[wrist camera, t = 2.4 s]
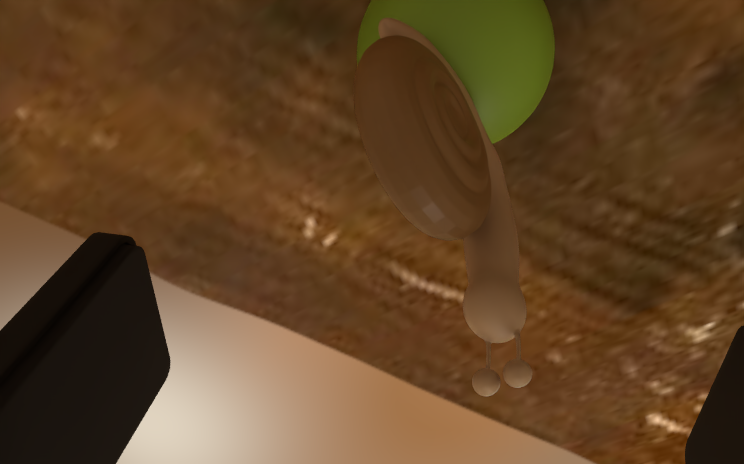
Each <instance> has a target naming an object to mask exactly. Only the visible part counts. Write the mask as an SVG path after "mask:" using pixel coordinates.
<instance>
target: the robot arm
mask: <svg viewBox="0 0 744 464" xmlns="http://www.w3.org/2000/svg"><path fill="white" fill-rule="evenodd" d="M169 369H170V356H169V352H168V348H167V344H166V339H165V336H164V331H163V327H162V323H161V319H160V314H159V310H158V306H157V302H156V298H155V294H154V289H153V285H152V281H151V277H150V273H149V269H148V264H147V260H146V256H145V253H144V250H143V249H142V247H140V246H136V243H135V241H134V240H133V238H132V237H129V236H124V235H116V234H109V233H101V232H97V233H94V234H92V235H91V236H90V237H89V238H88V239H87V240H86V241H85V242H84V243H83V244H82V245H81V246H80V247H79V248H78V249H77V250H76V251H75V252H74V253H73V254H72V256H71V257H70V258H69V259H68V260H67V261H66V262H65V263H64V264H63V265H62V266H61V267H60V268H59V269H58V271H57V272H55V274H54V275H53V276H52V277H51V278H50V279H49V280H48V281H47V282H46V283H45V284H44V285H43V286H42V287H41V288H40V289H39V291H37V293H36V294H35V295H34V296H33V297H32V298H31V299H30V300H29V301H28V302H27V303H26V304H25V305H24V307H22V308H21V309H20V311H19V312H18V313H17V314H16V315H15V316H14V317H13V318H12V319H11V320H10V321H9V322H8V323H7V324H6V325H5V326H4V327H3V328H2V329H1V331H0V464H116V463H117V461H118V459H119V457H120V456H121V454H122V453H123V450H124V449H125V448H126V446H127V444H128V443H129V441H130V439H131V437H132V436H133V434H134V432H135V431H136V429H137V427H138V426H139V424H140V422H141V421H142V419H143V417H144V416H145V414H146V412H147V411H148V409H149V407H150V406H151V404H152V402H153V401H154V399H155V397H156V396H157V394H158V392H159V391H160V389H161V387H162V385H163V384H164V382H165V380H166V378H167V376H168V373H169ZM685 462H686V464H744V326H741V327H740V328H739V329H738V331H737V333H736V335H735V337H734V339H733V341H732V343H731V346H730V348H729V350H728V352H727V354H726V357H725V359H724V361H723V363H722V365H721V368H720V370H719V372H718V374H717V376H716V379H715V381H714V383H713V385H712V387H711V390H710V392H709V394H708V396H707V398H706V401H705V403H704V405H703V407H702V409H701V412H700V414H699V416H698V418H697V420H696V423H695V425H694V427H693V429H692V431H691V433H690V436H689V438H688V440H687V443H686V449H685Z"/></svg>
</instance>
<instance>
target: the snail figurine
mask: <svg viewBox="0 0 744 464" xmlns="http://www.w3.org/2000/svg"><path fill="white" fill-rule="evenodd" d="M554 55H555V40H554V31H553V26H552V21H551V18H550V15H549V12H548V9H547V7H546V5H545V2H544V1H543V0H371V2H370V4H369V6H368V8H367V10H366V12H365V15H364V17H363V20H362V23H361V27H360V31H359V35H358V42H357V69H356V73H355V79H354V107H355V113H356V119H357V124H358V128H359V132H360V135H361V139H362V142H363V145H364V147H365V150H366V153H367V156H368V158H369V160H370V163H371V165H372V167H373V169H374V171H375V173H376V175H377V177H378V179H379V181H380V183H381V184H382V186H383V188H384V190H385V191H386V193H387V194H388V196H389V197H390V199H391V200H392V202H393V203H394V204H395V206H396V207H397V208H398V210H399V211H400V212H401V213H402V214H403V215H404V216H405V217H406V219H407V220H409V221H410V222H411V223H412V224H413V225H414V226H416V227H417V228H418V229H419V230H420V231H422V232H423V233H425V234H427V235H429V236H431V237H434V238H438V239H442V240H457V239H463V240H464V253H465V261H466V268H467V275H468V282H469V286H468V287H467V289H466V292H465V294H464V299H463V312H464V316H465V319H466V321H467V323H468V325H469V327H470V328H471V329H472V331H473V332H474V333H475V334H476V335H478V336H479V337H481V338H482V339H484V340H485V342H486V350H487V362H486V368H483V369H480V370H478V371H477V372H476V373H475V374H474V376H473V379H472V385H473V388H474V390H475V391H476V392H477V393H478V394H479V395H482V396H490V395H493V394H494V393H495V392H497V391H498V389H499V387H500V378H499V376H498V374H497V373H496V372H495V371H494V370H492V369H490V360H491V343H492V342H494V343H503V342H507V341H509V340H511V339H513V338H514V337H515V339H516V347H517V359H513V360H511V361H509V362H508V363H507V364H506V365H505V367H504V369H503V377H504V379H505V381H506V383H507V384H508V385H510V386H512V387H515V388H519V387H523V386H525V385H526V384H528V383H529V381H530V380H531V377H532V370H531V367H530V366H529V364H528V363H526V362H525V361H523V360H521V345H520V331H521V329H522V328H523V326H524V323H525V320H526V304H525V300H524V297H523V294H522V291H521V289H520V286H519V245H518V236H517V230H516V224H515V219H514V215H513V210H512V206H511V201H510V197H509V194H508V190H507V186H506V181H505V176H504V172H503V168H502V165H501V161H500V159H499V156H498V154H497V152H496V150H495V148H494V146H493V144H494V143H496V142H498V141H500V140H501V139H503V138H505V137H506V136H508V135H509V134H511V133H512V132H513V131H515V130H516V129H517V128H518V127H519V126H521V125H522V124H523V123H524V122H525V121H526V120H527V118H528V117H529V116H530V115H531V114H532V112H533V111H534V110H535V108H536V107H537V105H538V104H539V102H540V101H541V99H542V97H543V95H544V93H545V91H546V88H547V86H548V83H549V80H550V77H551V73H552V69H553V64H554Z"/></svg>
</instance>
